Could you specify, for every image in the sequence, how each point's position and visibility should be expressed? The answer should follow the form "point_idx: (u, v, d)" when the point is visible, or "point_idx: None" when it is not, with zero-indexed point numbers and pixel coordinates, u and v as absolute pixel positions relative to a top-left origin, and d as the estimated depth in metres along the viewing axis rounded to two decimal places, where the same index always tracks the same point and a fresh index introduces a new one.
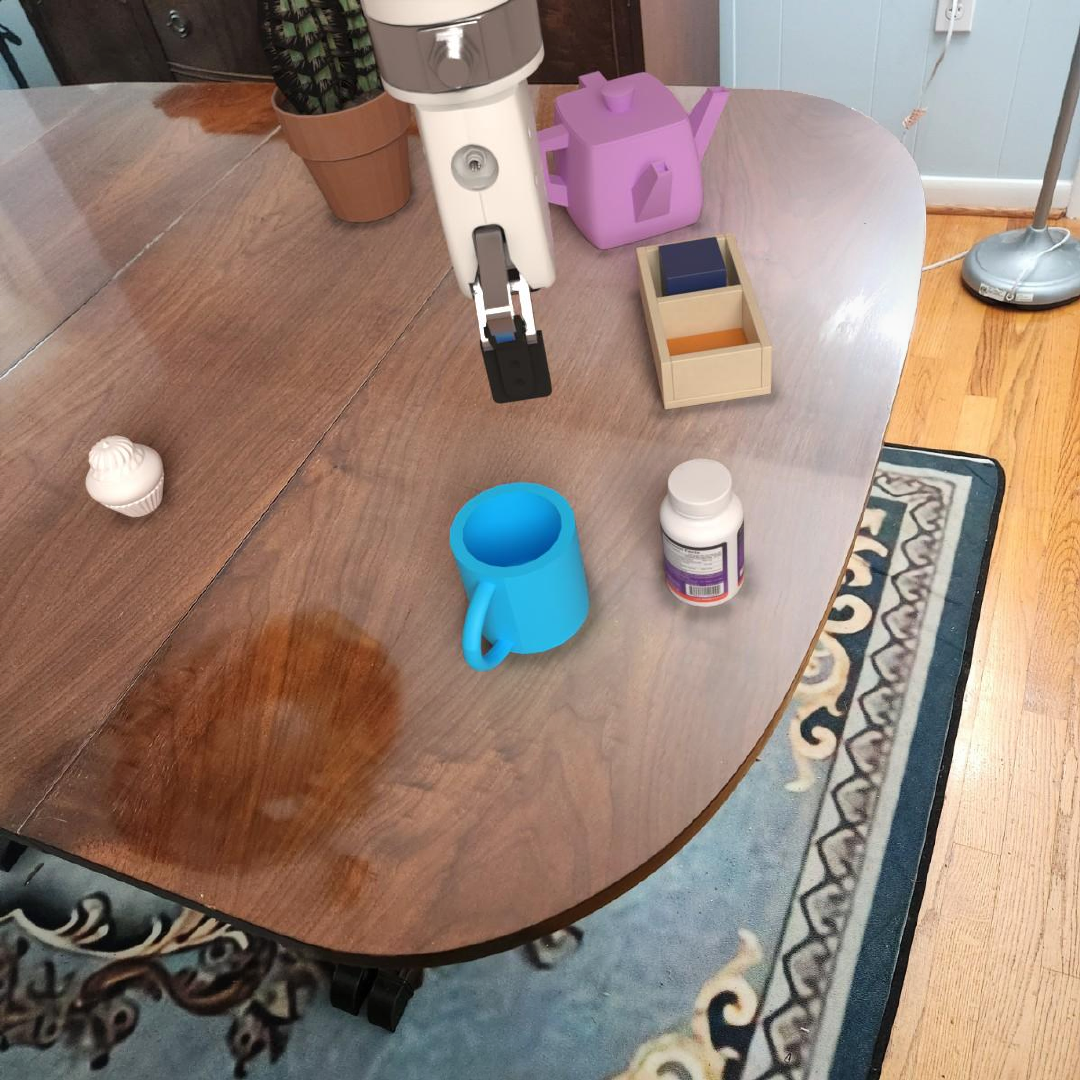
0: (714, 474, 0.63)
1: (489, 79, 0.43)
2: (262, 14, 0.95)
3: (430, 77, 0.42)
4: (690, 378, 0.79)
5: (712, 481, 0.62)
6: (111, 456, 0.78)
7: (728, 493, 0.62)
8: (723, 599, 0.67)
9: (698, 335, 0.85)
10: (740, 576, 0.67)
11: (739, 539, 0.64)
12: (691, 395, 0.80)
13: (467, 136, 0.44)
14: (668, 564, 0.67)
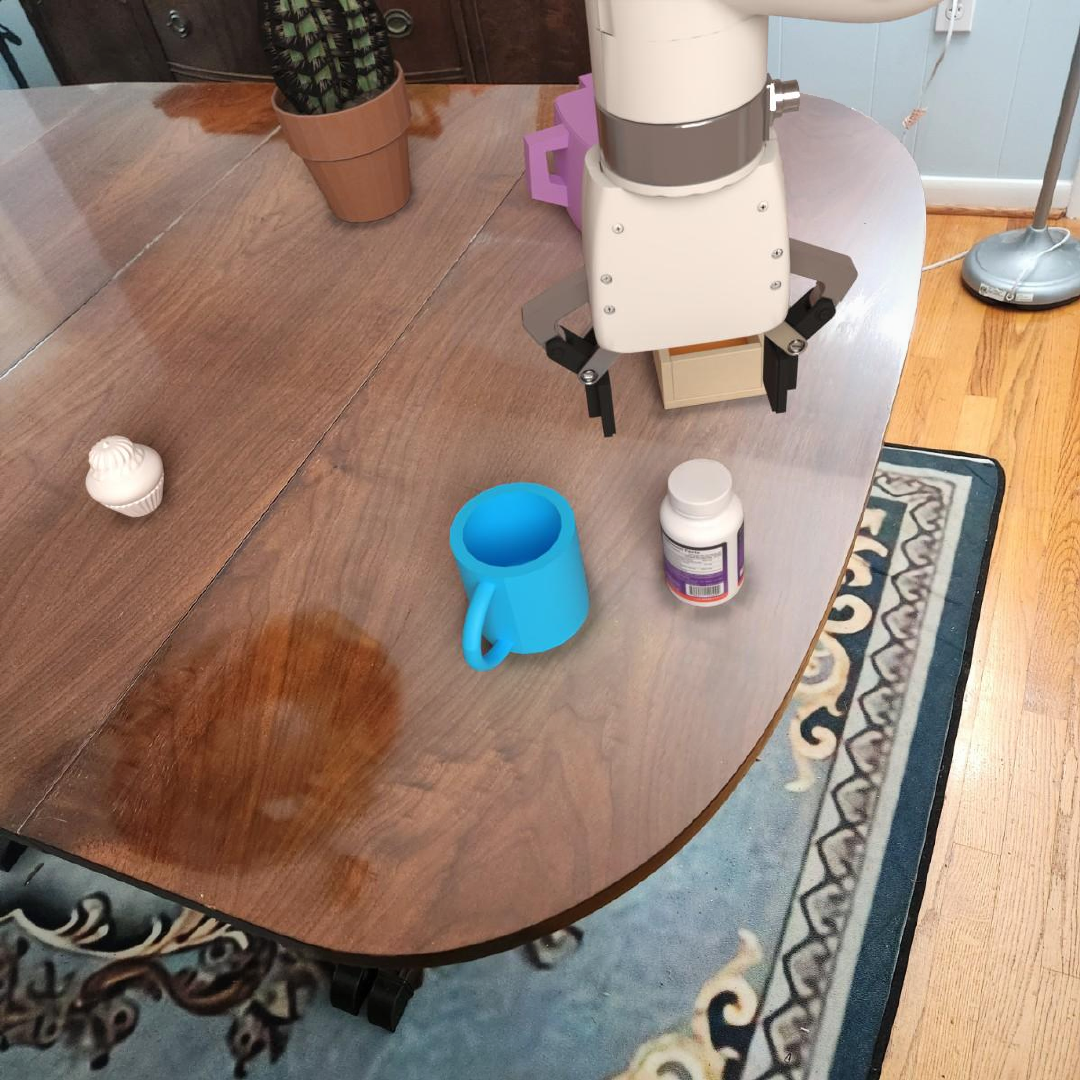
0: (714, 474, 0.63)
1: None
2: (262, 14, 0.95)
3: None
4: (690, 378, 0.79)
5: (712, 481, 0.62)
6: (111, 456, 0.78)
7: (728, 493, 0.62)
8: (723, 599, 0.67)
9: None
10: (740, 576, 0.67)
11: (739, 538, 0.64)
12: (691, 395, 0.80)
13: None
14: (668, 564, 0.67)
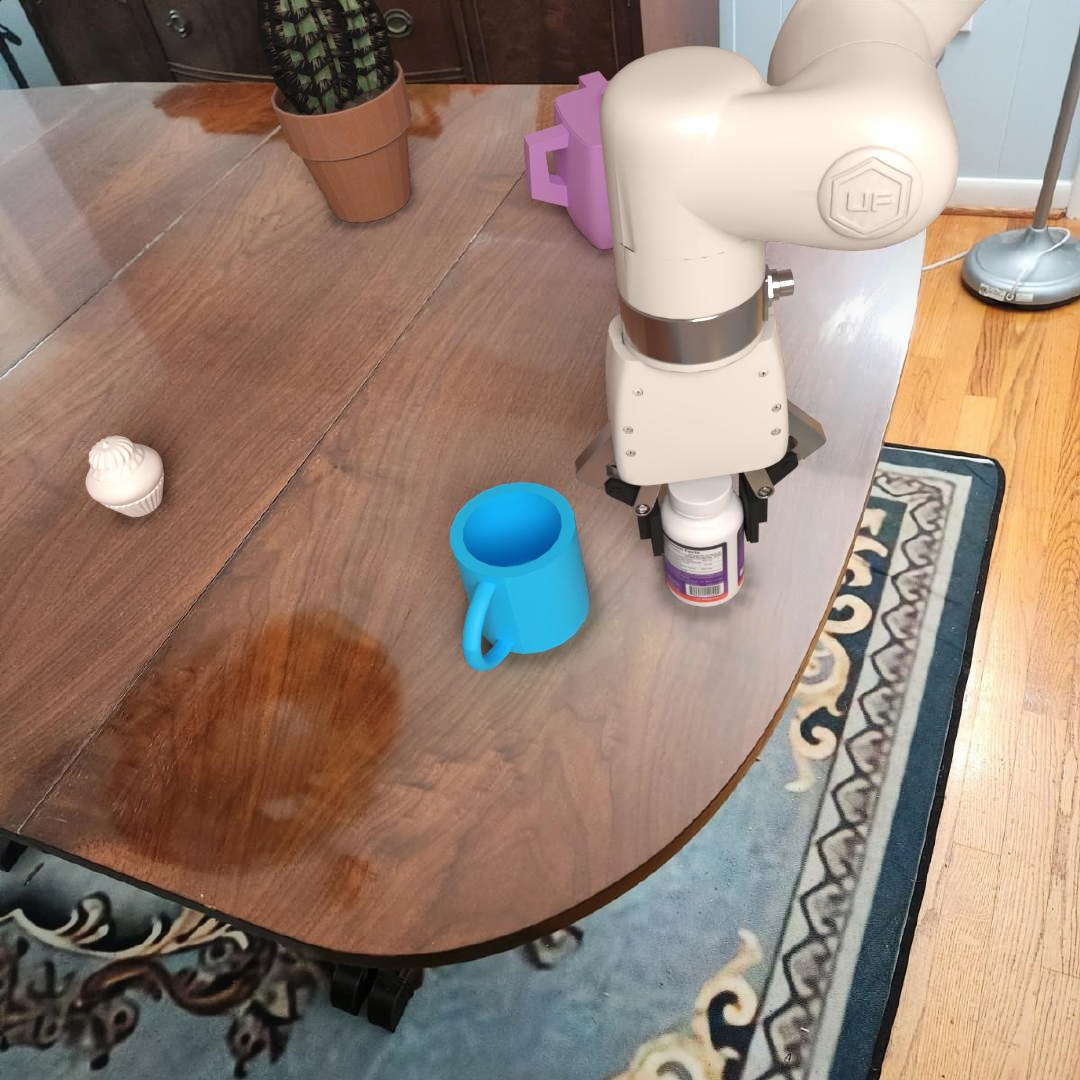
0: None
1: None
2: (262, 14, 0.95)
3: (767, 309, 0.52)
4: None
5: (712, 481, 0.62)
6: (111, 456, 0.78)
7: (728, 493, 0.62)
8: (723, 599, 0.67)
9: None
10: (740, 576, 0.67)
11: (739, 538, 0.64)
12: None
13: None
14: (668, 564, 0.67)
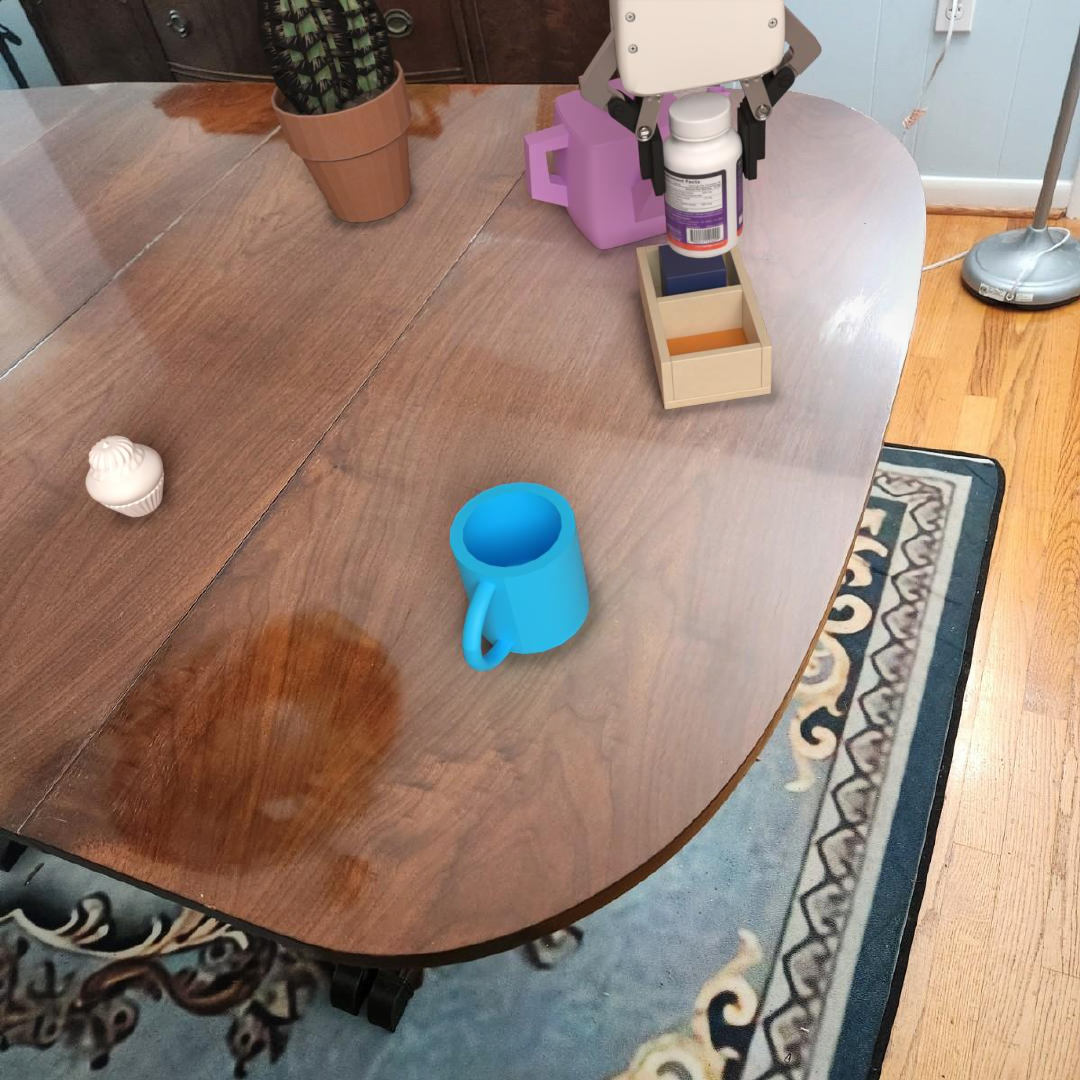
0: (714, 100, 0.65)
1: None
2: (262, 14, 0.95)
3: None
4: (690, 378, 0.79)
5: (711, 105, 0.64)
6: (111, 456, 0.78)
7: (727, 114, 0.64)
8: (723, 247, 0.69)
9: (698, 335, 0.85)
10: (739, 224, 0.69)
11: (738, 173, 0.66)
12: (691, 395, 0.80)
13: None
14: (669, 210, 0.69)
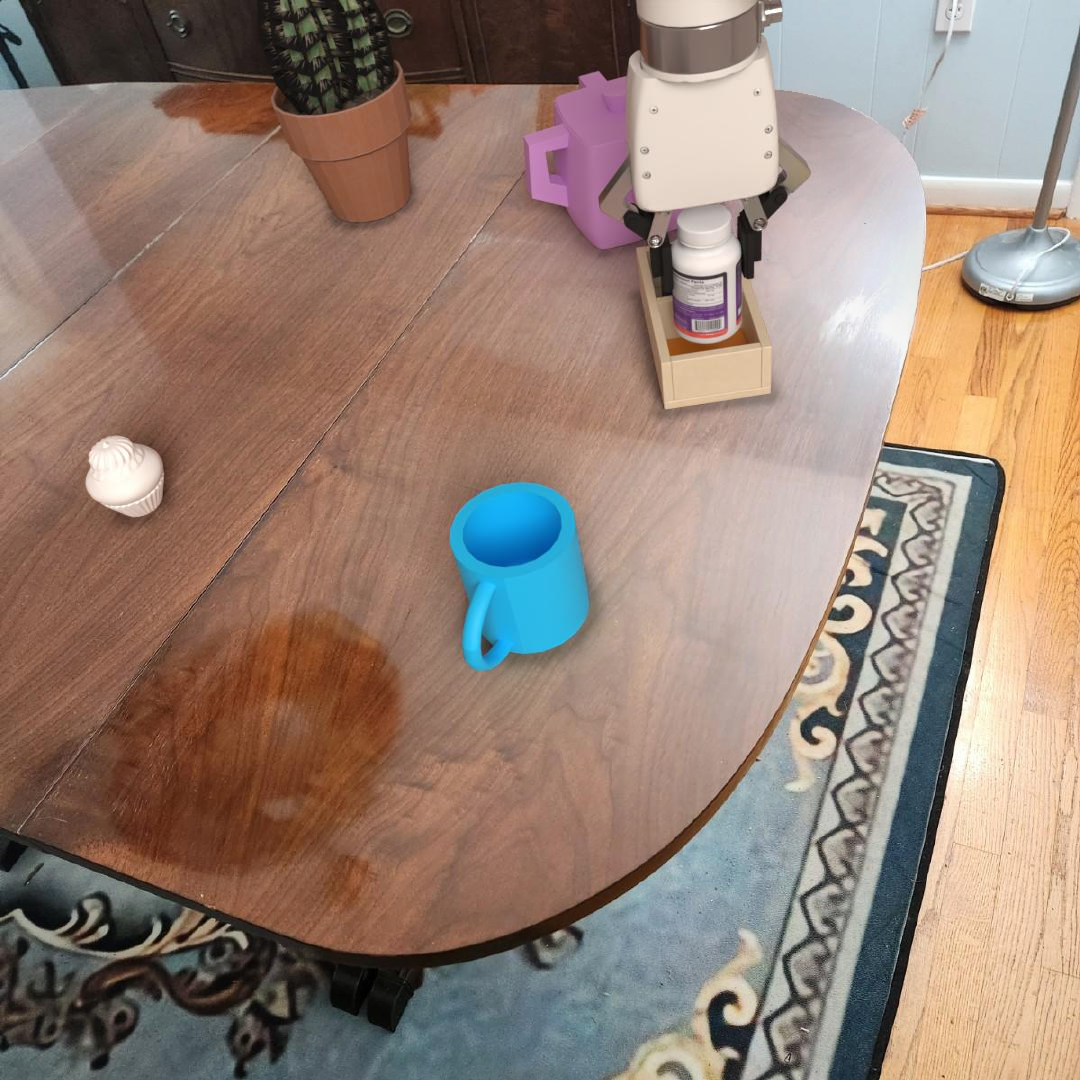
0: (716, 212, 0.74)
1: None
2: (262, 14, 0.95)
3: (760, 31, 0.63)
4: (690, 378, 0.79)
5: (714, 217, 0.73)
6: (111, 456, 0.78)
7: (728, 225, 0.73)
8: (724, 335, 0.78)
9: None
10: (738, 315, 0.78)
11: (738, 273, 0.75)
12: (691, 395, 0.80)
13: None
14: (676, 303, 0.78)
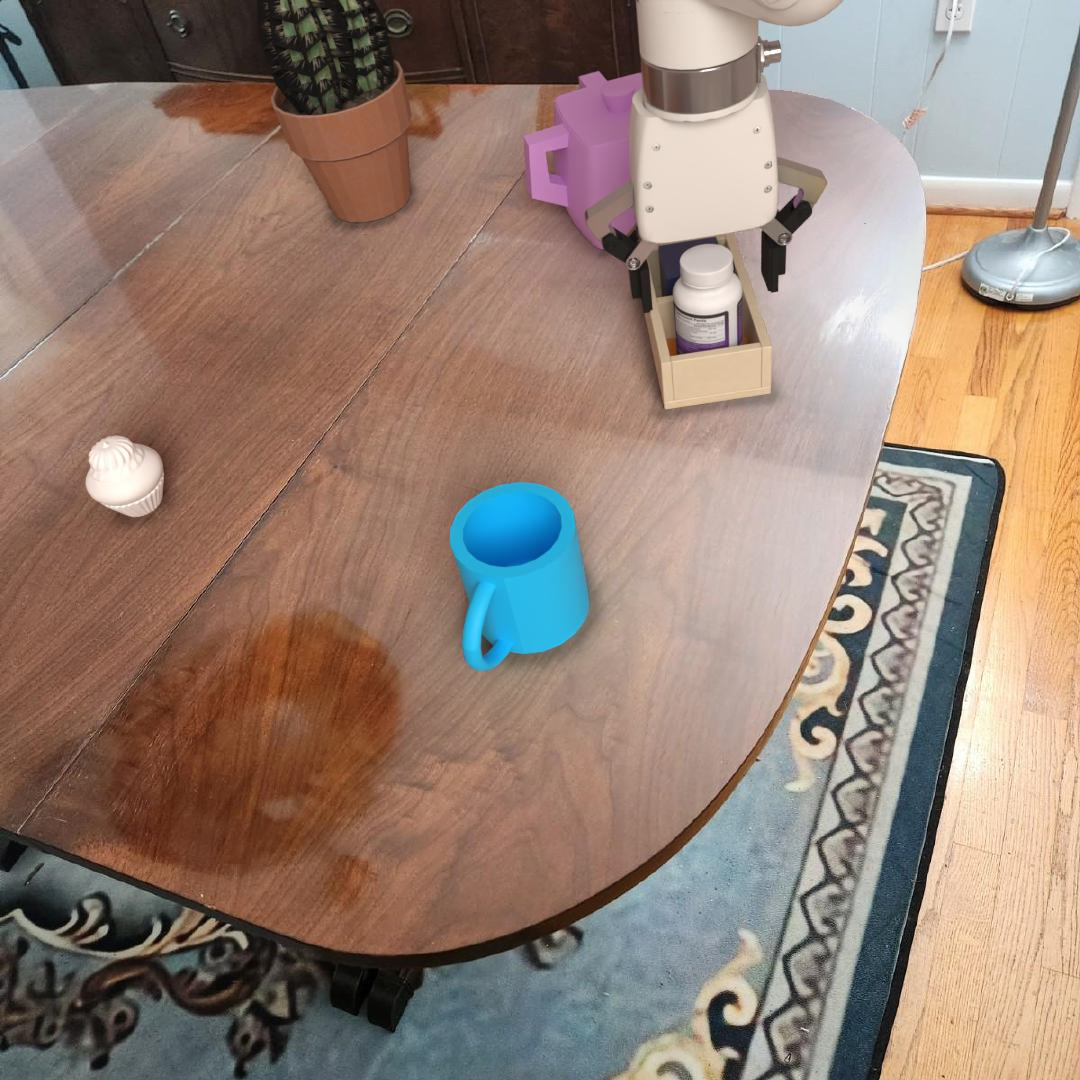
0: (718, 253, 0.76)
1: None
2: (262, 14, 0.95)
3: (760, 72, 0.65)
4: (690, 378, 0.79)
5: (716, 258, 0.76)
6: (111, 456, 0.78)
7: (729, 266, 0.75)
8: None
9: None
10: None
11: (739, 312, 0.78)
12: (691, 395, 0.80)
13: None
14: (680, 339, 0.80)
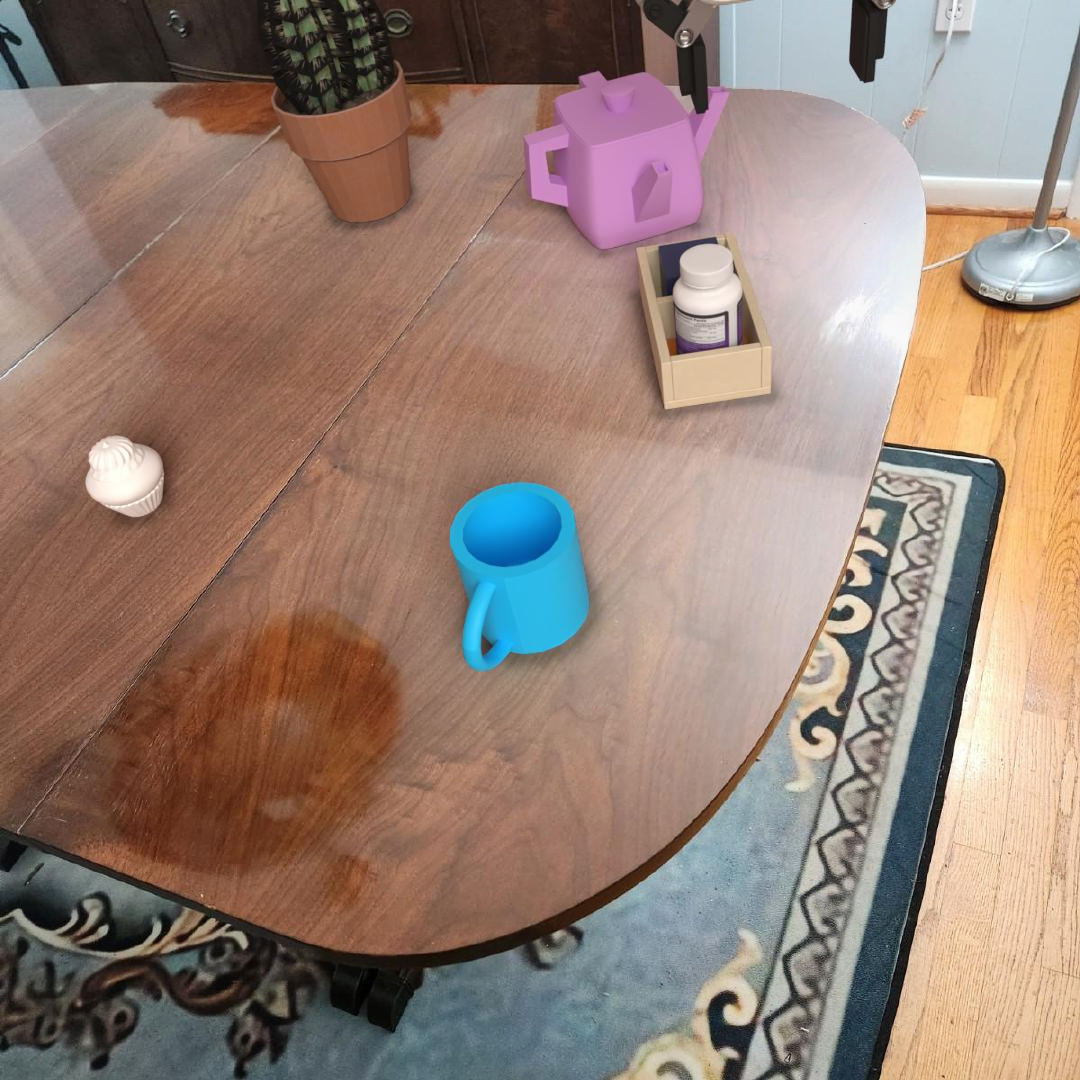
0: (718, 253, 0.76)
1: None
2: (262, 14, 0.95)
3: None
4: (690, 378, 0.79)
5: (716, 258, 0.76)
6: (111, 456, 0.78)
7: (729, 266, 0.75)
8: None
9: None
10: None
11: (739, 312, 0.78)
12: (691, 395, 0.80)
13: None
14: (680, 339, 0.80)
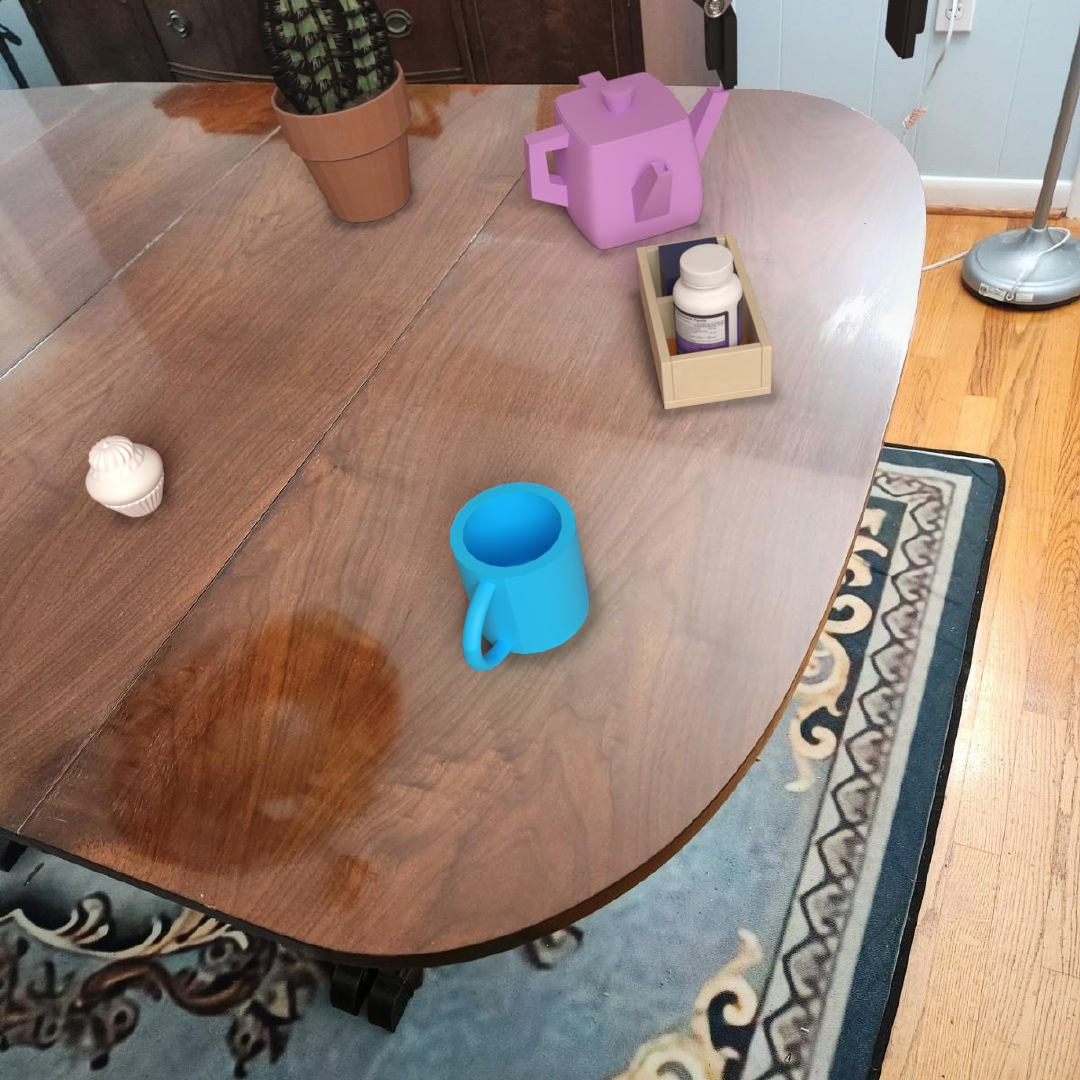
0: (718, 253, 0.76)
1: None
2: (262, 14, 0.95)
3: None
4: (690, 378, 0.79)
5: (716, 258, 0.76)
6: (111, 456, 0.78)
7: (729, 266, 0.75)
8: None
9: None
10: None
11: (739, 312, 0.78)
12: (691, 395, 0.80)
13: None
14: (680, 339, 0.80)
